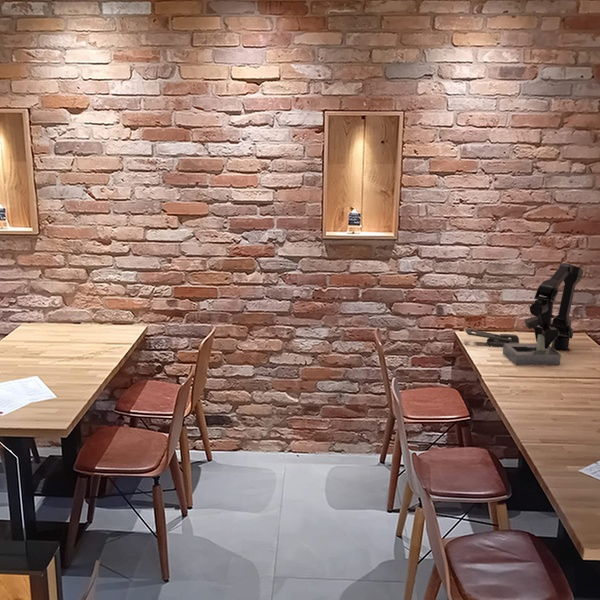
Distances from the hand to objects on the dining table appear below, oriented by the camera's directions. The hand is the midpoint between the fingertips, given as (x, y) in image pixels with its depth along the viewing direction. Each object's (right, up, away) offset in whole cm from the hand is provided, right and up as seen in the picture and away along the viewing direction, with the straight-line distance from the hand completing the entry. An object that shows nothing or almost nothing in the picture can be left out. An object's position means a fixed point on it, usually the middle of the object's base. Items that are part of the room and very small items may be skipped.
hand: (541, 345), depth 323 cm
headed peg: (0, -5, +1) cm, 5 cm away
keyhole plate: (-5, -6, +1) cm, 8 cm away
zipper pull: (-17, -1, +20) cm, 27 cm away
